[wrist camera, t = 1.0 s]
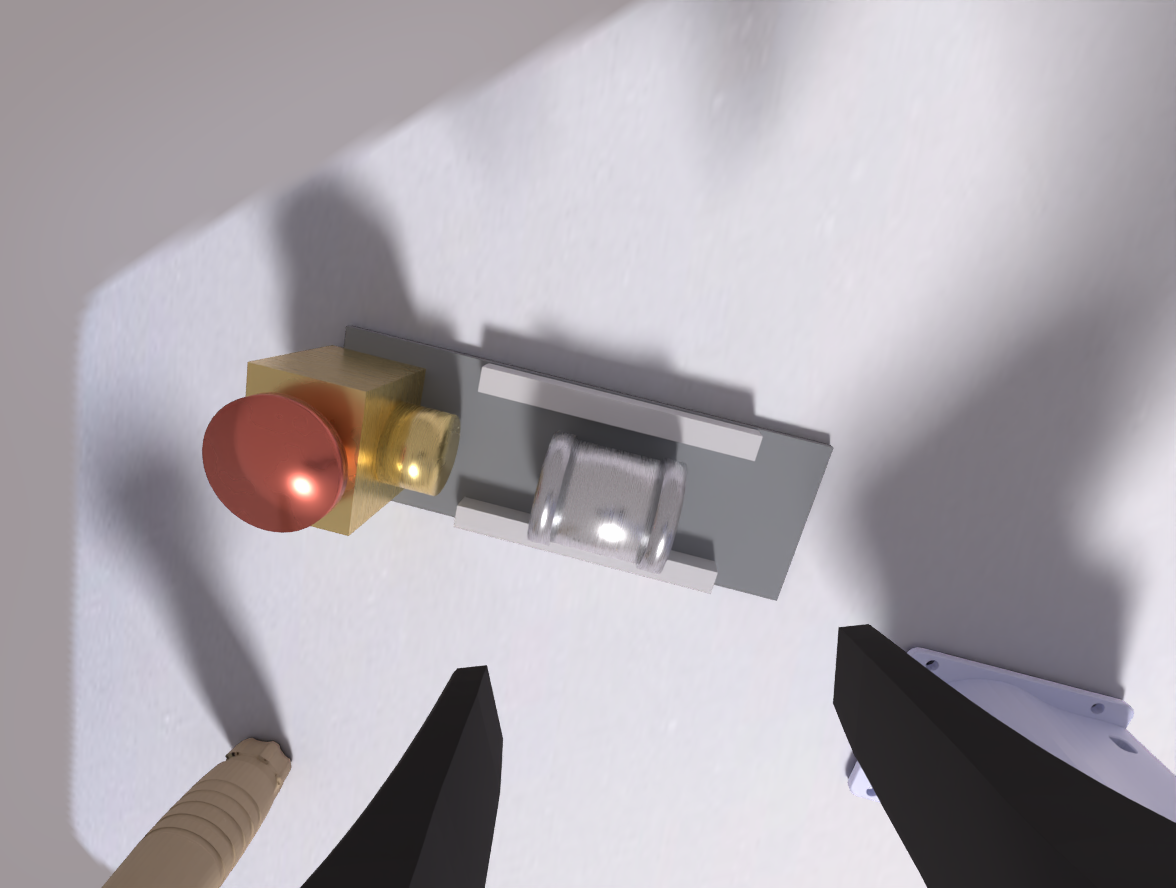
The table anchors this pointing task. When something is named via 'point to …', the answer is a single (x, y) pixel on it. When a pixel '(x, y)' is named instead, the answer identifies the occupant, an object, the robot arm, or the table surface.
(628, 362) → the table surface
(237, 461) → the valve
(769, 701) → the table surface
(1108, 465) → the table surface
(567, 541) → the coupling
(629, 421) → the grey railed tray
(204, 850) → the handle
